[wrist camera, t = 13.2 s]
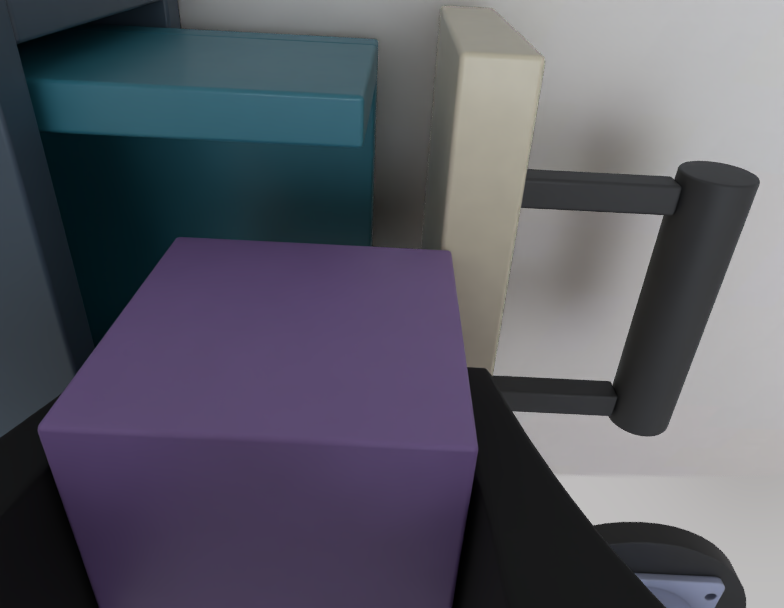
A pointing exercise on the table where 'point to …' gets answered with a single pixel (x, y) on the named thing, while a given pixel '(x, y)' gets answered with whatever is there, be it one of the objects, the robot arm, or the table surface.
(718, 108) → the table surface
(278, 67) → the drawer
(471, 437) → the block
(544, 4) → the table surface
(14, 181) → the cabinet
